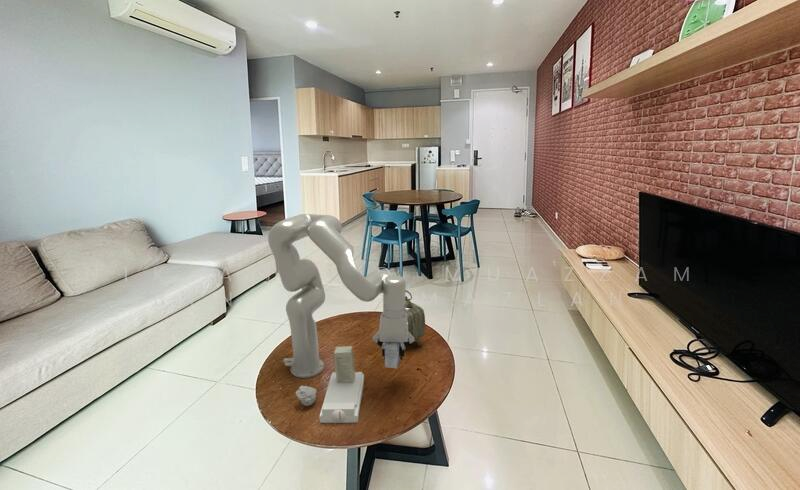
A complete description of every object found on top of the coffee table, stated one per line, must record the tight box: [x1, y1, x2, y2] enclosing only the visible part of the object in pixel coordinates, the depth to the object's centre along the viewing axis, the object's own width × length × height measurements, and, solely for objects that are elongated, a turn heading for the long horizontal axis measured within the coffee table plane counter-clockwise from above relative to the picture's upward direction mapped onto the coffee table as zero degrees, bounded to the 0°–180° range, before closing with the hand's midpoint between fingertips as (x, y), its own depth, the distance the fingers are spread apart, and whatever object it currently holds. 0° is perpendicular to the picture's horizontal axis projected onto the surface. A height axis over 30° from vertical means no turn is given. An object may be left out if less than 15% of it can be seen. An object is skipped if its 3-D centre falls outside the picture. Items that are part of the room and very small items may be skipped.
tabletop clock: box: [405, 289, 426, 347], centre depth 164 cm, size 14×9×25 cm, turn 42°
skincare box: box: [333, 345, 356, 383], centre depth 136 cm, size 6×4×12 cm
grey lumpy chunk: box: [295, 384, 318, 407], centre depth 129 cm, size 6×7×7 cm
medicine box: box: [384, 342, 401, 369], centre depth 136 cm, size 8×4×9 cm, turn 169°
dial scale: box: [319, 371, 365, 424], centre depth 131 cm, size 12×22×5 cm, turn 0°
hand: (393, 357), depth 137 cm, fingers closed on medicine box, 5 cm apart
